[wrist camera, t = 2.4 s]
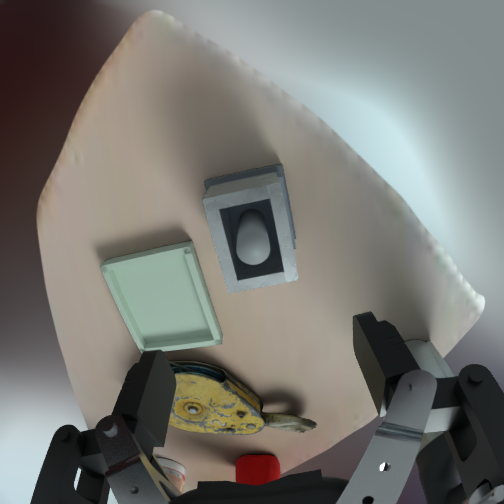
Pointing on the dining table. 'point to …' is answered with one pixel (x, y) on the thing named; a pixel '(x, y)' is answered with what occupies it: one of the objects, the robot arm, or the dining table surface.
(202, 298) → the tray
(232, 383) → the pulley block
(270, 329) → the dining table surface
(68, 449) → the robot arm
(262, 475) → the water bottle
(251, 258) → the grey peg stand
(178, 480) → the fruit juice
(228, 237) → the gray open box
